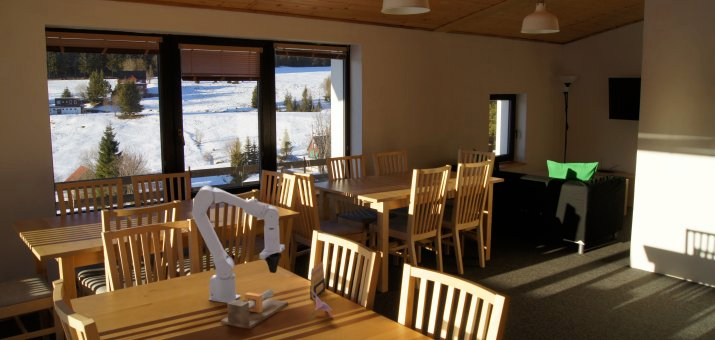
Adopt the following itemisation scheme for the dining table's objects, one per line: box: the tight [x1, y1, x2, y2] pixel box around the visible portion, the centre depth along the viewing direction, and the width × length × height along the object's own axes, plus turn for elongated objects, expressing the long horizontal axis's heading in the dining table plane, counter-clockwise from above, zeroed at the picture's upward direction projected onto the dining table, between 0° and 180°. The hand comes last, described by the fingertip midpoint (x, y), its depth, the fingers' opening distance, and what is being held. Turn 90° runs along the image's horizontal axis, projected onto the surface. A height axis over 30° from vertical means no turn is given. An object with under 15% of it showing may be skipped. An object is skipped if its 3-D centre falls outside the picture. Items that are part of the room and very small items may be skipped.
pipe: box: [248, 288, 275, 309], centre depth 213 cm, size 3×18×3 cm, turn 155°
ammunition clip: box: [309, 261, 326, 300], centre depth 231 cm, size 11×2×12 cm, turn 160°
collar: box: [244, 291, 263, 313], centre depth 212 cm, size 6×2×6 cm, turn 65°
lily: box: [309, 288, 334, 320], centre depth 209 cm, size 12×12×10 cm
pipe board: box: [220, 298, 289, 330], centre depth 213 cm, size 12×24×8 cm, turn 155°
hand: (273, 272), depth 230 cm, fingers closed
